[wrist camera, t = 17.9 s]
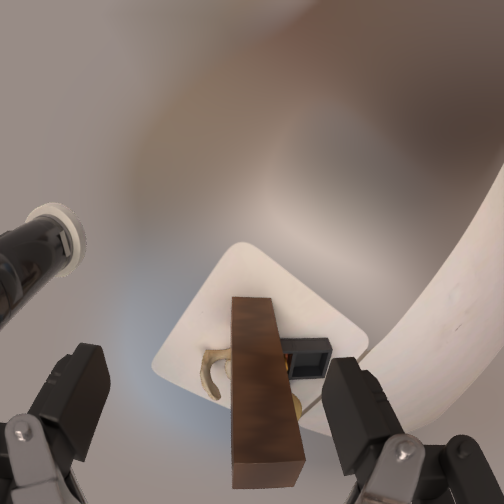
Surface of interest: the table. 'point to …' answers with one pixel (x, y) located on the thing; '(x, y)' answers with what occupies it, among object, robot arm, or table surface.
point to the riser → (261, 401)
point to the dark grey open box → (306, 357)
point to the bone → (207, 362)
